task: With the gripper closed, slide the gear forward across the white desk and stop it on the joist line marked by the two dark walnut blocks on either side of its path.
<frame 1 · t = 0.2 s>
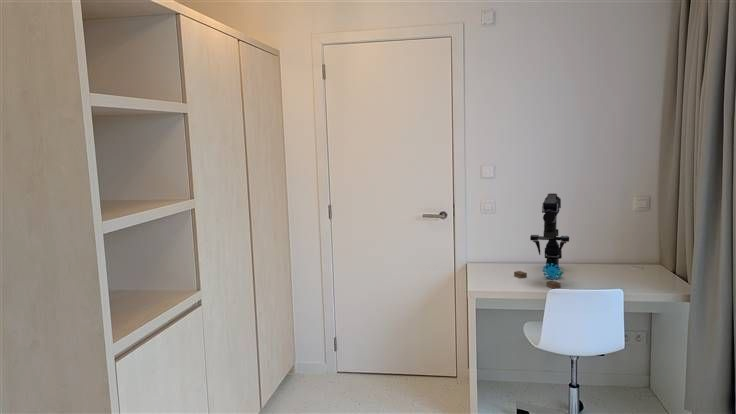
hand: (549, 255, 278), 15 cm above the table, tool pointing down, fingers open, 9 cm apart
joist marks: (536, 281, 286), on the table
gear: (553, 278, 291), on the table
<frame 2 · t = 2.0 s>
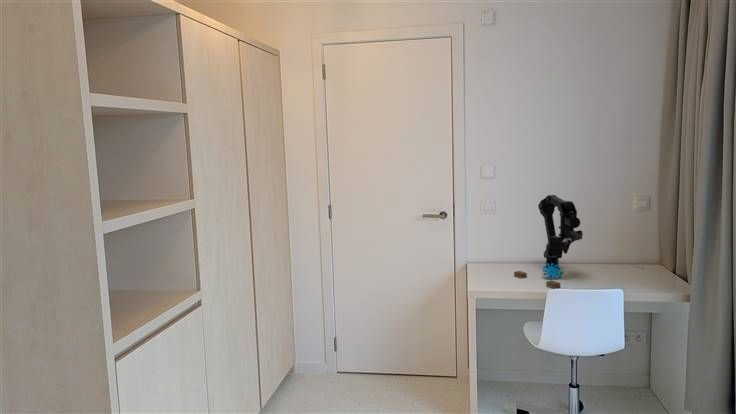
hand: (565, 253, 294), 12 cm above the table, tool pointing down, fingers closed
nothing on the table moved.
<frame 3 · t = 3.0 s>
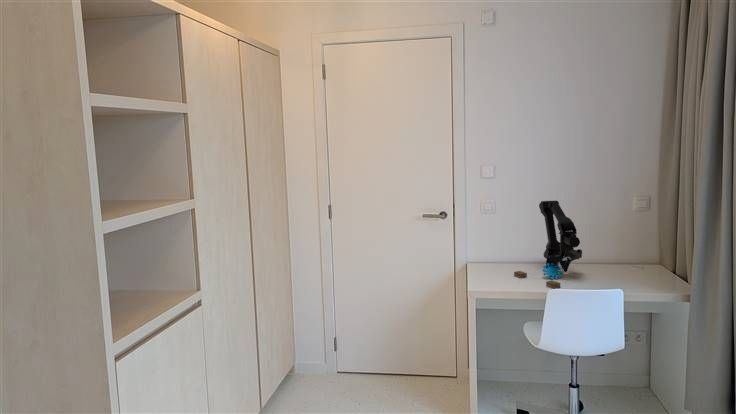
hand: (565, 272, 295), 2 cm above the table, tool pointing down, fingers closed
nothing on the table moved.
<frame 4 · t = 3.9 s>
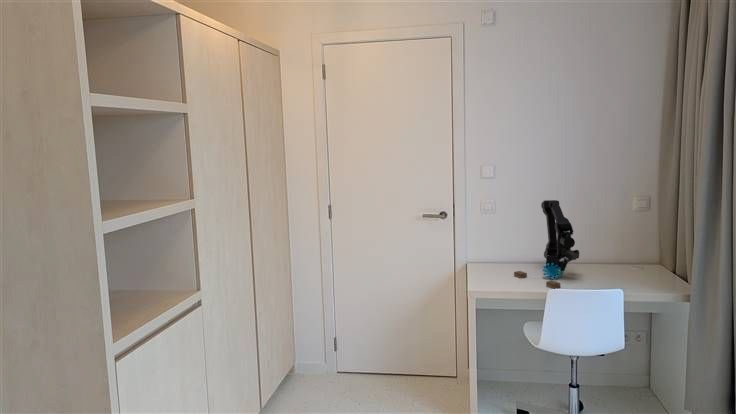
hand: (562, 272, 294), 2 cm above the table, tool pointing down, fingers closed
gear: (553, 278, 292), on the table, touching gripper
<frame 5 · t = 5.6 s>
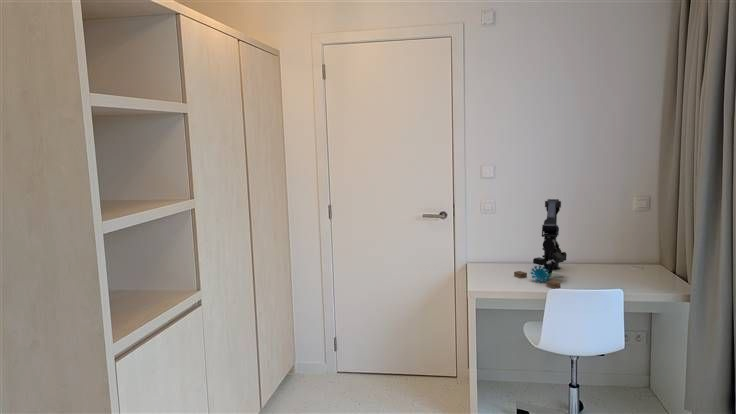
hand: (549, 275, 290), 2 cm above the table, tool pointing down, fingers closed
gear: (541, 281, 287), on the table, touching gripper
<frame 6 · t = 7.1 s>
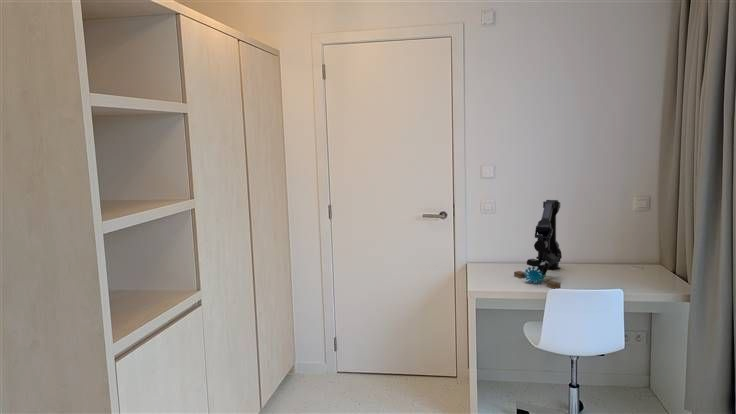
hand: (543, 276, 288), 2 cm above the table, tool pointing down, fingers closed
gear: (535, 282, 285), on the table, touching gripper
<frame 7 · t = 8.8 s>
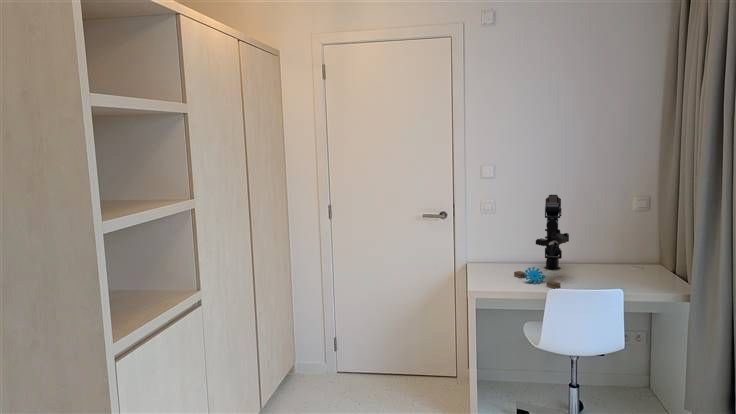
hand: (552, 256, 292), 12 cm above the table, tool pointing down, fingers closed
gear: (535, 282, 285), on the table
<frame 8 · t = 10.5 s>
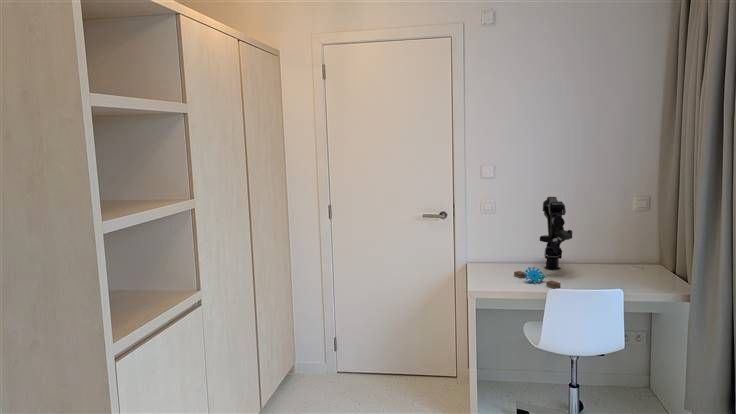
hand: (555, 252, 297), 12 cm above the table, tool pointing down, fingers closed
nothing on the table moved.
at the end: gear inside the target area (0.8 cm from its centre), on the table; gear moved 13.0 cm from its start; gear tilted 0° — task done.
